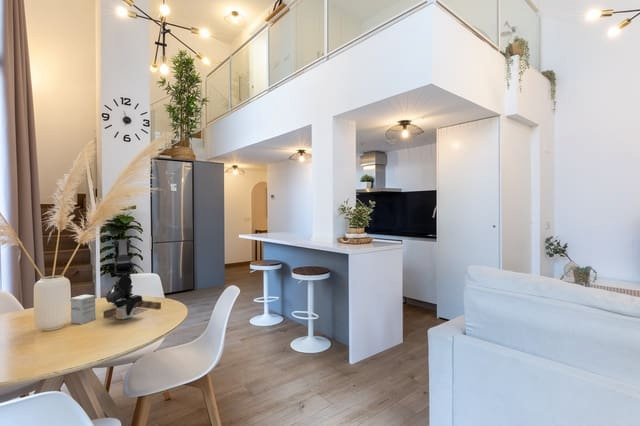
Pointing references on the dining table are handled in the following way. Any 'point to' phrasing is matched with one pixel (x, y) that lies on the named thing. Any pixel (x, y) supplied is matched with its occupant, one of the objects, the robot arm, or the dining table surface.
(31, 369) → the dining table surface
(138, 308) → the tile
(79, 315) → the supplement box
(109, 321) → the dining table surface
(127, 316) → the sage cube
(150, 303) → the block
